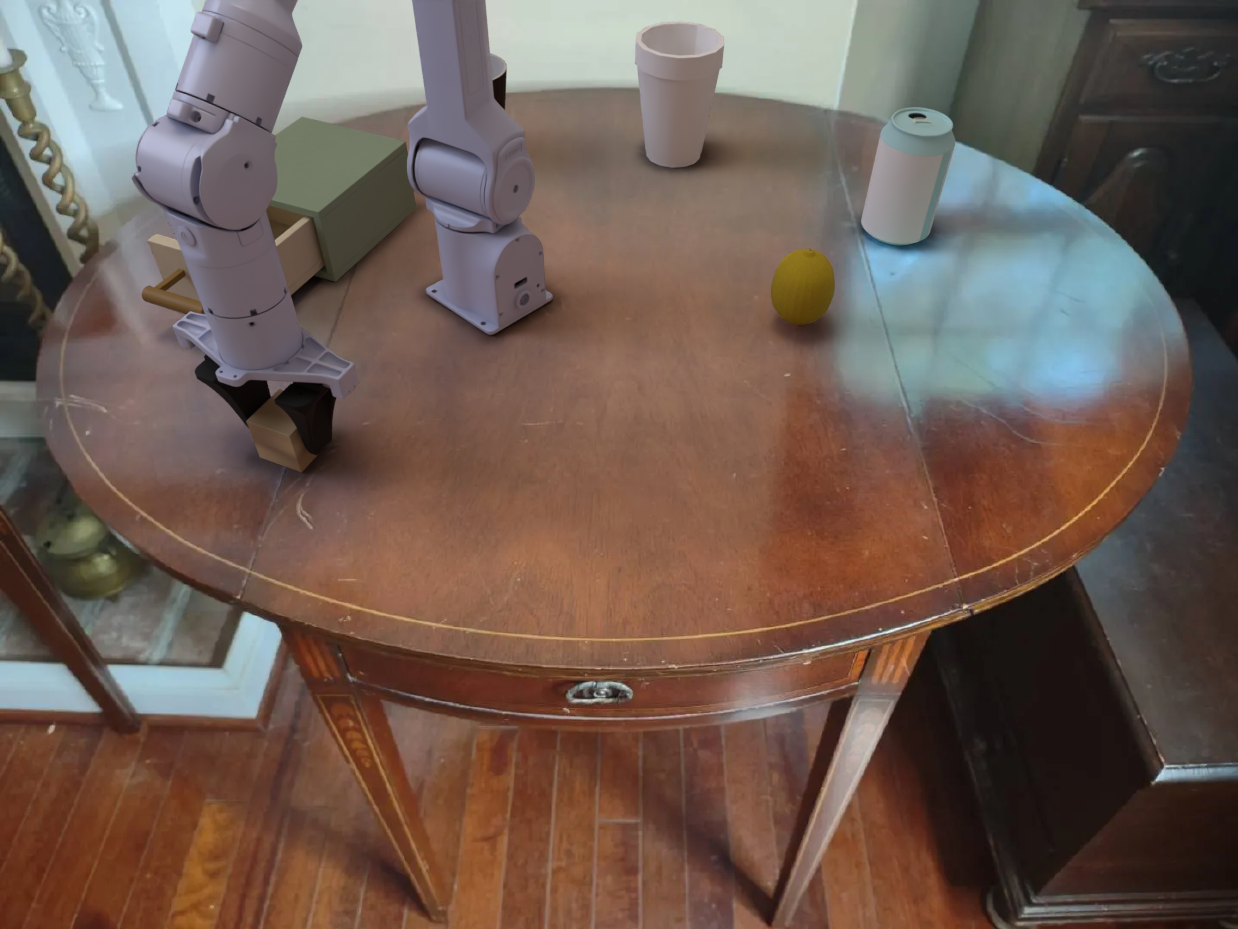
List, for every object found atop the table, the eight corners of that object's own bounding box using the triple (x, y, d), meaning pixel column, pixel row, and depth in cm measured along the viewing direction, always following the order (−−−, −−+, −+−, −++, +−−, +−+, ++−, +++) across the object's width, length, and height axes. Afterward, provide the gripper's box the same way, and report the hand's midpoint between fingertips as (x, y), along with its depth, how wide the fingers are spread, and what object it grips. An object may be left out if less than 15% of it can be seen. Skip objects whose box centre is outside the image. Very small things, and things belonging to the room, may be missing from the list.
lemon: (779, 347, 85) (792, 272, 79) (757, 310, 88) (768, 236, 82) (836, 337, 86) (853, 263, 80) (811, 302, 89) (826, 228, 84)
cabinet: (335, 282, 91) (318, 211, 85) (229, 251, 94) (206, 181, 88) (416, 208, 100) (406, 140, 94) (317, 182, 103) (301, 116, 98)
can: (845, 227, 98) (869, 116, 90) (889, 205, 102) (916, 96, 93) (898, 257, 95) (928, 145, 86) (942, 234, 98) (975, 123, 89)
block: (332, 439, 76) (321, 402, 73) (301, 473, 73) (289, 436, 70) (291, 425, 77) (279, 388, 74) (259, 457, 74) (245, 420, 71)
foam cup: (622, 166, 107) (624, 50, 97) (644, 129, 113) (648, 16, 103) (704, 179, 105) (714, 62, 95) (722, 141, 111) (733, 28, 101)
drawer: (236, 354, 81) (216, 299, 77) (133, 321, 84) (108, 266, 80) (356, 248, 93) (344, 195, 89) (261, 221, 96) (246, 169, 92)
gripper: (118, 298, 64) (183, 442, 73) (296, 355, 60) (339, 498, 69) (190, 245, 68) (242, 387, 78) (360, 295, 64) (392, 437, 74)
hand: (292, 436), depth 74 cm, fingers open, 5 cm apart
